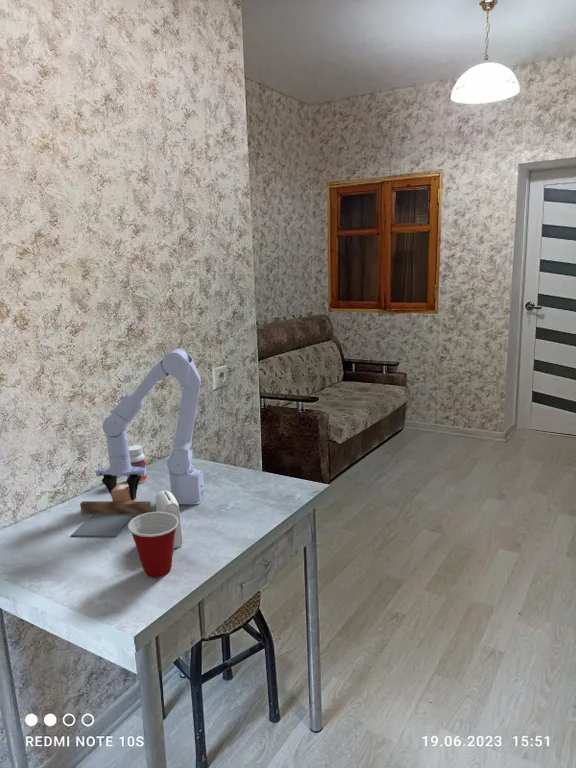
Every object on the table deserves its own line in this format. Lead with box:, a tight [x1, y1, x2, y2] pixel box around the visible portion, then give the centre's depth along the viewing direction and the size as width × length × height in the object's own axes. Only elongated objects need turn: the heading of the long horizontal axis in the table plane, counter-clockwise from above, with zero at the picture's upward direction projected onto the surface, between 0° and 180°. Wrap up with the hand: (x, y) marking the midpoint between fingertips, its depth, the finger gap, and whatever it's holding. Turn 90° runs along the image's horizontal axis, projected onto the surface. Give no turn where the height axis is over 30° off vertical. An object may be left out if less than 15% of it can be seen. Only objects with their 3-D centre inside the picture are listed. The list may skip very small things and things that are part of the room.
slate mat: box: [70, 514, 135, 538], centre depth 143 cm, size 12×12×1 cm
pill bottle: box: [126, 444, 148, 485], centre depth 173 cm, size 6×6×11 cm
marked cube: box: [111, 483, 137, 501], centre depth 156 cm, size 5×5×5 cm
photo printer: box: [155, 489, 183, 549], centre depth 133 cm, size 10×4×12 cm, turn 26°
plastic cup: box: [127, 511, 179, 578], centre depth 119 cm, size 11×11×12 cm
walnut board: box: [79, 500, 152, 515], centre depth 151 cm, size 20×2×3 cm, turn 83°
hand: (124, 498), depth 157 cm, fingers closed on marked cube, 5 cm apart
